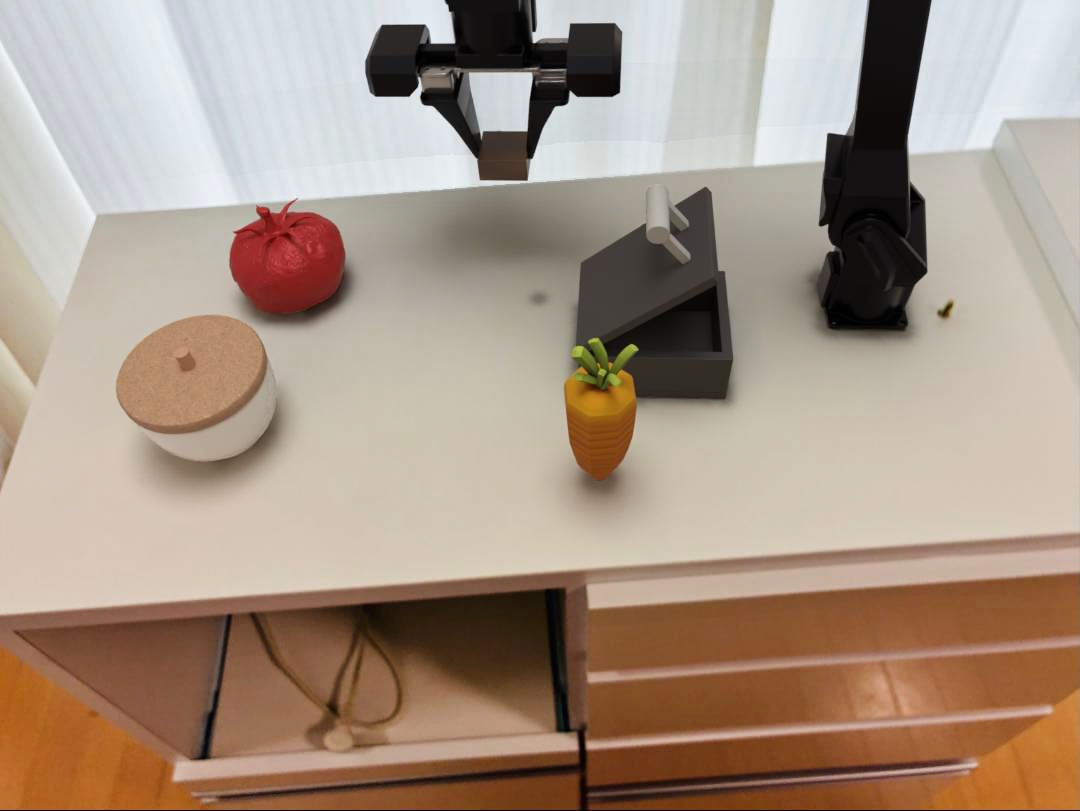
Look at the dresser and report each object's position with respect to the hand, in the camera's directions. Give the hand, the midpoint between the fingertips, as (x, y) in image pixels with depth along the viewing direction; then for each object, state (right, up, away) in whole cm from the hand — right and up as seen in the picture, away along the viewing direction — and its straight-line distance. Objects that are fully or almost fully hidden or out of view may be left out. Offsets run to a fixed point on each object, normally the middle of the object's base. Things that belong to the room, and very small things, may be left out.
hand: (505, 155), depth 68 cm
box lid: (+11, -11, -6) cm, 17 cm away
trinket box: (-22, -23, -2) cm, 32 cm away
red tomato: (-19, -10, +8) cm, 23 cm away
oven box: (+12, -16, +1) cm, 20 cm away
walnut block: (0, -1, +1) cm, 1 cm away
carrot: (+7, -26, -6) cm, 28 cm away
